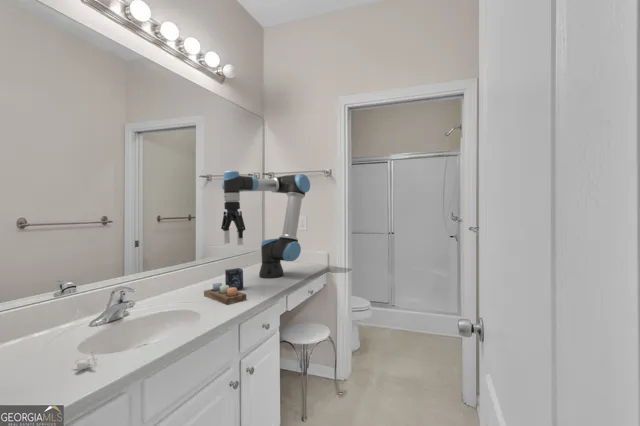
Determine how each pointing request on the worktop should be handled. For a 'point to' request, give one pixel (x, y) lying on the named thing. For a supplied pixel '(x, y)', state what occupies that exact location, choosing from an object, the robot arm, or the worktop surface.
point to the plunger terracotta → (232, 292)
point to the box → (234, 278)
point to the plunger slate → (216, 287)
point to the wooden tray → (224, 297)
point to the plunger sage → (224, 289)
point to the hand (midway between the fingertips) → (233, 244)
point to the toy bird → (86, 361)
